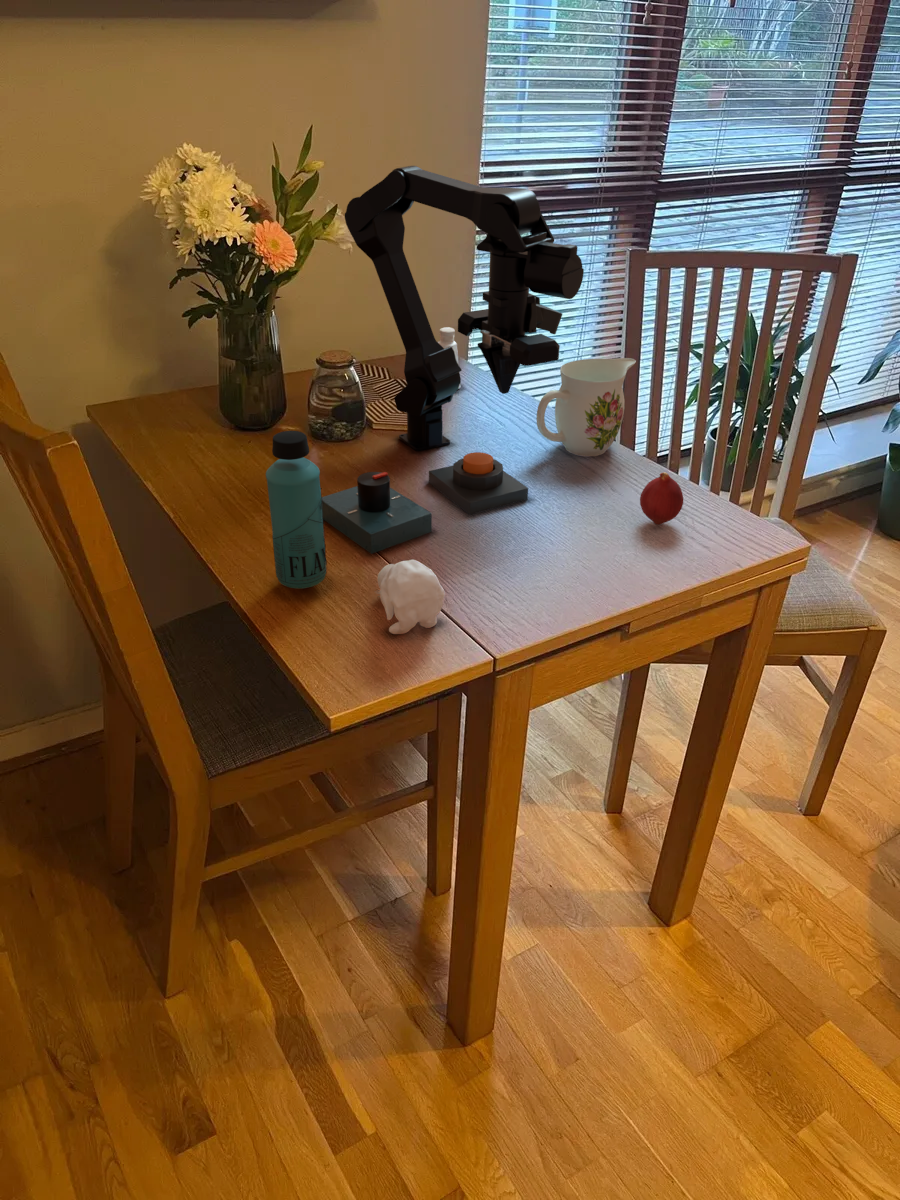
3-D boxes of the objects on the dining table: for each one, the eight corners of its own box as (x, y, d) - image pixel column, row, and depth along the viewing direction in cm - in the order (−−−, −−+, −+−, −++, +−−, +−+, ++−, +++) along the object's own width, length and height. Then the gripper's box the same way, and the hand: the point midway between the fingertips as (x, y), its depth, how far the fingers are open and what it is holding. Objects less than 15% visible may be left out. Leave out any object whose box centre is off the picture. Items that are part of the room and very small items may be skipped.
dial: (370, 515, 124) (369, 486, 122) (352, 503, 127) (350, 475, 125) (396, 506, 126) (396, 477, 124) (378, 494, 129) (377, 466, 127)
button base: (428, 482, 140) (428, 458, 138) (484, 469, 144) (485, 445, 142) (469, 515, 131) (470, 490, 129) (527, 500, 135) (529, 475, 133)
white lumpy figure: (393, 580, 99) (359, 539, 109) (397, 648, 103) (364, 602, 113) (447, 569, 101) (409, 529, 111) (449, 636, 105) (412, 592, 115)
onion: (653, 510, 133) (660, 459, 129) (687, 524, 130) (696, 472, 125) (629, 523, 130) (636, 471, 125) (663, 538, 126) (671, 485, 122)
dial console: (319, 517, 130) (318, 497, 128) (378, 497, 135) (377, 478, 134) (371, 554, 122) (370, 533, 120) (431, 532, 127) (431, 511, 125)
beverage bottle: (286, 604, 111) (271, 451, 100) (269, 579, 116) (252, 430, 105) (336, 592, 114) (327, 441, 103) (317, 567, 118) (306, 420, 108)
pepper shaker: (429, 391, 172) (429, 332, 166) (434, 381, 177) (435, 323, 171) (458, 393, 171) (459, 334, 165) (462, 383, 176) (464, 325, 170)
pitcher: (516, 447, 151) (520, 365, 144) (604, 428, 159) (613, 349, 151) (554, 473, 143) (560, 388, 136) (645, 451, 151) (656, 369, 143)
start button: (457, 466, 136) (457, 455, 135) (482, 460, 138) (483, 449, 137) (473, 478, 133) (473, 466, 132) (498, 471, 135) (499, 460, 134)
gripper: (595, 295, 127) (584, 403, 135) (519, 266, 140) (514, 366, 149) (528, 305, 122) (521, 417, 131) (456, 274, 136) (455, 377, 144)
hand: (504, 392), depth 139 cm, fingers closed
